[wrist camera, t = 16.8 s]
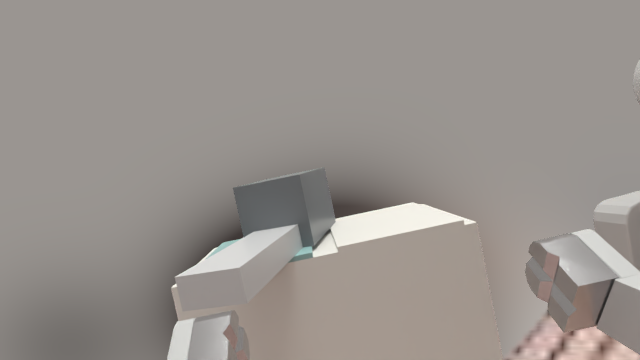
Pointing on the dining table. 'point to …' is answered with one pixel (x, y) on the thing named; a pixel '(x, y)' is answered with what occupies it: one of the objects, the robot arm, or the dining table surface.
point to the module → (261, 239)
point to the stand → (375, 293)
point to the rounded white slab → (621, 225)
